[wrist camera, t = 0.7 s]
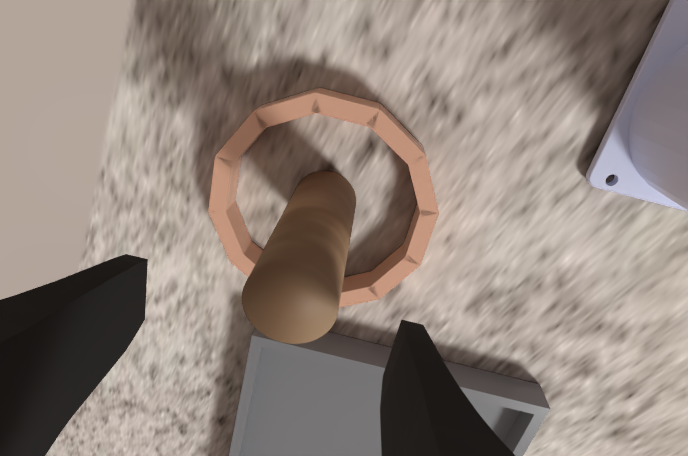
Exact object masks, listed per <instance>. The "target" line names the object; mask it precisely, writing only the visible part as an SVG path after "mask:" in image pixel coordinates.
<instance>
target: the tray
mask: <svg viewBox="0 0 688 456" xmlns="http://www.w3.org/2000/svg"><path fill="white" fill-rule="evenodd" d="M391 350H392V348H391V347H387V346H383V345H379V344H375V343H371V342H367V341H363V340H359V339H355V338H351V337H347V336H343V335H339V334H335V333H331V332H327V333H326V334H324V335H323V336H322V337H320V338H318V339H316V340H313V341H311V342H307V343H300V344H290V343H283V342H279V341H276V340H274V339H271V338H269V337H267V336H265V335H264V334H262V333H261V332H260V331H258V330H257V329H256V328H255V329H254V331H253V334H252V337H251V342H250V347H249V353H248V358H247V363H246V368H245V374H244V379H243V384H242V389H241V395H240V400H239V405H238V410H237V416H236V421H235V426H234V431H233V437H232V442H231V447H230V452H229V456H382V453H381V426H380V402H381V390H382V380H383V374H384V371H385V368H386V365H387V362H388V359H389V356H390V353H391ZM443 361H444V360H443ZM444 363H445V364H446V366H447V368H448V369H449V371H450V373H451V374H452V376H453V377H454V379H455V381H456V382H457V384H458V385H459V387H460V388H461V390H462V391H463V393H464V394H465V395H466V397H467V398H468V400H469V401H470V402H471V404H472V405H473V407H474V408H475V409H476V411H477V412H478V413H479V414H480V416H481V417H482V418H483V419H484V421H485V422H486V423H487V424H488V425H489V427H490V428H491V429H492V430H493V431H494V433H495V434H496V435H497V436H498V437H499V438H500V440H501V441H502V442H503V443H504V444H505V445H506V446H507V447H508V448H509V449H510V450H511V451H512V452H513V454H514V455H515V456H523V455H524V453H525V452H526V450H527V448H528V446H529V445H530V443H531V441H532V440H533V438H534V436H535V434H536V433H537V431H538V429H539V427H540V426H541V424H542V422H543V421H544V419H545V417H546V415H547V414H548V412H549V410H550V407H549V405H548V403H547V400H546V398H545V395H544V393H543V391H542V388H541V386H540V384H536V383H532V382H528V381H524V380H520V379H516V378H512V377H508V376H504V375H500V374H496V373H492V372H488V371H484V370H480V369H476V368H472V367H468V366H464V365H460V364H456V363H452V362H448V361H444Z"/></svg>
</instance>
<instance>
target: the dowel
mask: <svg viewBox="0 0 688 456" xmlns="http://www.w3.org/2000/svg"><path fill="white" fill-rule="evenodd" d="M355 207H356V196H355V192H354V189H353V188H352V186H351V184H350V183H349V182H348V181H347V180H346V179H345V178H344V177H342V176H341V175H339V174H337V173H334V172H331V171H317V172H313V173H311V174H309V175H307V176H306V177H304V178H303V179H302V180H301V182H300V183H299V184H298V186H297V188H296V190H295V192H294V193H293V195H292V197H291V199H290V201H289V203H288V205H287V206H286V208H285V210H284V212H283V214H282V216H281V218H280V220H279V221H278V223H277V225H276V227H275V229H274V231H273V233H272V235H271V236H270V238H269V240H268V242H267V244H266V246H265V248H264V249H263V251H262V253H261V255H260V257H259V259H258V261H257V263H256V264H255V266H254V268H253V270H252V272H251V274H250V276H249V277H248V279H247V281H246V283H245V286H244V288H243V292H242V304H243V308H244V311H245V314H246V316H247V318H248V319H249V321H250V322H251V324H252V325H253V326H254V327H255V328H256V329H257V330H258V331H260V332H261V333H262V334H264V335H265V336H267V337H269V338H271V339H274V340H276V341H279V342H283V343H290V344H300V343H307V342H311V341H313V340H316V339H318V338H320V337H322V336H323V335H324V334H326V333H327V332H328V331H329V330H330V329H331V327H332V326H333V324H334V323H335V321H336V318H337V315H338V310H339V304H340V298H341V291H342V285H343V279H344V273H345V267H346V261H347V255H348V249H349V243H350V237H351V231H352V225H353V219H354V213H355Z"/></svg>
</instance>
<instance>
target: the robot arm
mask: <svg viewBox="0 0 688 456" xmlns="http://www.w3.org/2000/svg"><path fill="white" fill-rule="evenodd" d="M609 175H614V179H613V180H612V181H611V182H609V183H606V182H605V181H606V178H607V177H608V176H609ZM586 180H587V182H588V183H589V184H590V185H591V186H593V187H595V188H599V189H603V190H607V191H611V192H615V193H618V194H622V195H626V196H630V197H634V198H638V199H642V200H646V201H649V202H653V203H657V204H661V205H665V206H669V207H673V208H677V209H680V210H684V211H688V0H670V1H669V3H668V5H667V7H666V9H665V11H664V14H663V16H662V18H661V20H660V22H659V24H658V26H657V28H656V30H655V32H654V34H653V36H652V38H651V40H650V42H649V45H648V47H647V49H646V51H645V53H644V55H643V57H642V59H641V61H640V63H639V65H638V67H637V69H636V71H635V73H634V76H633V78H632V80H631V82H630V84H629V86H628V88H627V90H626V92H625V94H624V96H623V98H622V100H621V102H620V105H619V107H618V109H617V111H616V113H615V115H614V117H613V119H612V121H611V123H610V125H609V127H608V129H607V131H606V133H605V136H604V138H603V140H602V142H601V144H600V146H599V148H598V150H597V152H596V154H595V156H594V158H593V160H592V162H591V165H590V167H589V169H588V171H587V173H586ZM147 261H148V259H144V258H140V257H135V256H131V255H127V254H125V255H122V256H119V257H116V258H114V259H111V260H108V261H106V262H103V263H101V264H98V265H96V266H93V267H91V268H88V269H86V270H83V271H80V272H78V273H75V274H73V275H71V276H68V277H66V278H63V279H60V280H58V281H55V282H52V283H49V284H46V285H43V286H41V287H38V288H35V289H32V290H29V291H26V292H24V293H21V294H18V295H15V296H12V297H9V298H5V299H2V300H0V456H45V455H46V453H47V452H48V450H49V449H50V447H51V446H52V444H53V443H54V441H55V440H56V438H57V437H58V435H59V434H60V432H61V431H62V429H63V428H64V427H65V425H66V424H67V423H68V421H69V420H70V419H71V417H72V416H73V415H74V414H75V412H76V411H77V410H78V409H79V407H80V406H81V405H82V404H83V403H84V401H85V400H86V399H87V398H88V396H89V395H90V394H91V393H92V392H93V390H94V389H95V388H96V387H97V385H98V384H99V383H100V382H101V381H102V379H103V378H104V377H105V376H106V374H107V373H108V372H109V371H110V369H111V368H112V367H113V366H114V364H115V363H116V362H117V361H118V359H119V358H120V357H121V356H122V354H123V353H124V352H125V351H126V349H127V348H128V346H129V345H130V343H131V341H132V340H133V338H134V337H135V335H136V333H137V332H138V330H139V328H140V326H141V325H142V323H143V321H144V320H145V303H146V282H147ZM380 426H381V453H382V456H515V455H514V454H513V452H512V451H511V450H510V449H509V448H508V447H507V446H506V445H505V444H504V443H503V442H502V441H501V440H500V438H499V437H498V436H497V435H496V434H495V433H494V431H493V430H492V429H491V428H490V427H489V425H488V424H487V423H486V422H485V421H484V419H483V418H482V417H481V416H480V414H479V413H478V412H477V411H476V409H475V408H474V407H473V405H472V404H471V402H470V401H469V400H468V398H467V397H466V395H465V394H464V393H463V391H462V390H461V388H460V387H459V385H458V384H457V382H456V381H455V379H454V377H453V376H452V374H451V373H450V371H449V369H448V368H447V366H446V364H445V363H444V361H443V359H442V358H441V356H440V354H439V352H438V351H437V349H436V347H435V345H434V343H433V342H432V340H431V338H430V336H429V334H428V333H427V331H426V329H425V327H424V326H423V325H422V324H417V323H413V322H409V321H405V320H401V323H400V326H399V329H398V332H397V335H396V338H395V341H394V344H393V347H392V350H391V353H390V356H389V359H388V362H387V365H386V368H385V371H384V374H383V380H382V390H381V402H380Z"/></svg>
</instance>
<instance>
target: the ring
mask: <svg viewBox="0 0 688 456" xmlns="http://www.w3.org/2000/svg"><path fill="white" fill-rule="evenodd" d="M314 113H318V114H322V115H326V116H330V117H333V118H337V119H341V120H345V121H349V122H353V123H357V124H361V125H364V126H368V127H370V128H371V129H372V130H373V131H374V132H375V133H376V134H377V135H379V136H380V137H381V138H382V139H383V140H384V141H385V142H386V143H387V144H388V145H389V146H390V147H391V148H392V149H393V150H394V151H395V152H396V153H397V154H398V155H399V156H400V157H401V158H402V159H403V160H404V161H405V162H406V163H407V164H408V166H409V170H410V174H411V178H412V182H413V186H414V190H415V194H416V198H417V202H418V203H417V206H416V209H415V212H414V215H413V218H412V221H411V224H410V227H409V230H408V233H407V236H406V239H405V242H404V244H403V245H401V246H400V247H399V248H398V249H397V250H396V251H394V252H393V253H392V254H391V255H390V256H389V257H387V258H386V259H385V260H384V261H383V262H382V263H380V264H379V265H378V266H377V267H376V268H375V269H373V270H372V271H370V272H366V273H361V274H357V275H352V276H347V277H344V279H343V285H342V291H341V298H340V304H339V307H344V306H349V305H354V304H359V303H364V302H369V301H373V300H378V299H380V298H381V297H382V296H384V295H385V294H386V293H387V292H389V291H390V290H391V289H392V288H393V287H395V286H396V285H397V284H398V283H399V282H401V281H402V280H403V279H404V278H406V277H407V276H408V275H409V274H410V273H412V272H413V271H414V270H415V269H417V268H418V267H419V266H420V265H421V262H422V260H423V257H424V254H425V251H426V248H427V246H428V243H429V240H430V237H431V234H432V231H433V229H434V226H435V223H436V220H437V217H438V215H439V211H438V207H437V203H436V198H435V194H434V190H433V185H432V181H431V177H430V172H429V168H428V164H427V159H426V155H425V152H424V148H423V146H422V145H421V144H420V143H419V142H418V141H417V140H416V139H415V138H414V137H413V136H412V135H411V134H410V133H409V132H408V131H407V130H406V129H405V128H404V127H403V126H402V125H401V124H400V123H399V122H398V121H397V120H396V119H395V118H394V117H393V116H392V115H391V114H390V113H389V112H388V111H387V110H386V109H385V108H384V107H383V106H382V104H380V103H377V102H373V101H370V100H366V99H362V98H358V97H354V96H350V95H346V94H343V93H339V92H335V91H331V90H327V89H323V88H317V89H313V90H310V91H307V92H304V93H300V94H297V95H294V96H290V97H287V98H284V99H280V100H277V101H274V102H270V103H267V104H264V105H262V106H260V107H259V108H257V109H256V110H254V111H253V112H252V113H251V114H250V116H249V117H248V118H247V119H246V120H245V121H244V123H243V124H242V125H241V126H240V127H239V129H238V130H237V131H236V132H235V133H234V134H233V136H232V137H231V138H230V139H229V140H228V142H227V143H226V144H225V145H224V146H223V147H222V149H221V150H220V151H219V152H218V153H217V154H216V156H215V161H214V169H213V177H212V185H211V194H210V202H209V210H208V211H209V215H210V217H211V219H212V221H213V224H214V226H215V228H216V231H217V233H218V235H219V237H220V240H221V242H222V244H223V247H224V249H225V251H226V253H227V256H228V258H229V260H230V262H231V263H232V264H233V265H234V266H236V267H237V268H238V269H239V270H241V271H242V272H243V273H244V274H245V275H247V276H248V277H249V276H250V274H251V272H252V270H253V268H254V266H255V264H256V263H257V261H258V259H259V257H260V255H261V253H262V251H263V250H262V249H261V248H259V247H258V246H257V245H256V244H255V243H253V242H252V240H251V238H250V235H249V233H248V230H247V228H246V225H245V223H244V221H243V218H242V216H241V213H240V211H239V208H238V206H237V203H236V201H235V199H236V192H237V185H238V178H239V172H240V165H241V158H242V155H243V154H244V153H245V152H246V151H247V150H248V149H249V147H250V146H251V145H252V144H253V143H254V142H255V141H256V139H257V138H258V137H259V136H260V135H261V134H262V133H263V131H264V130H265V129H266V128H267V127H270V126H273V125H277V124H280V123H283V122H287V121H290V120H294V119H297V118H301V117H304V116H308V115H311V114H314Z"/></svg>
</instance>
